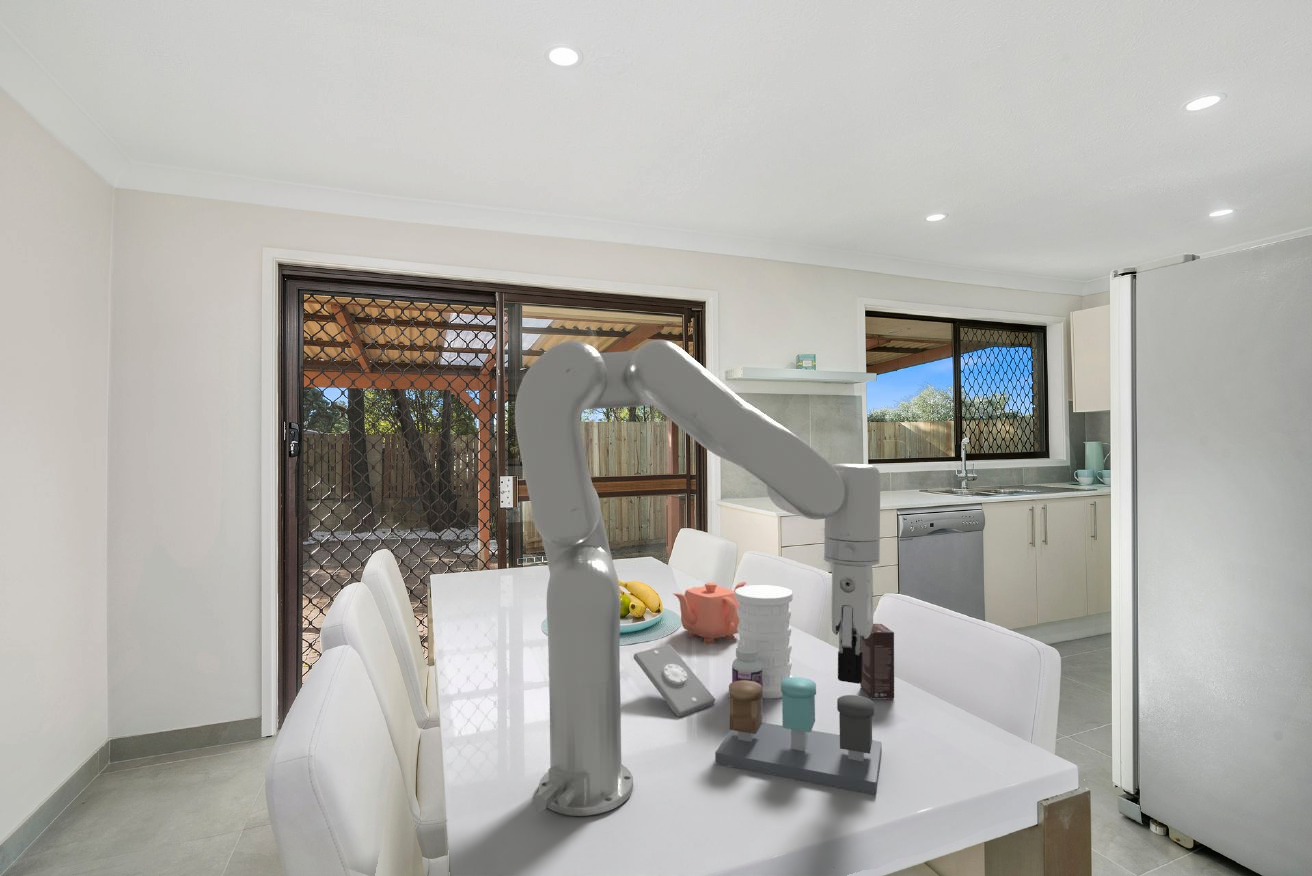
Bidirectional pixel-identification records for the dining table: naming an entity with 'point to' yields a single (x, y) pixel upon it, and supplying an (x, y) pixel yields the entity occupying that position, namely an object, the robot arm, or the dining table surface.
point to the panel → (802, 757)
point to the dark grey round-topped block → (855, 723)
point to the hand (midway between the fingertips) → (850, 680)
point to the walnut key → (745, 706)
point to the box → (878, 663)
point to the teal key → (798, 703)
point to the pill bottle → (747, 666)
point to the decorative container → (767, 631)
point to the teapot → (710, 611)
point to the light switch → (674, 680)
